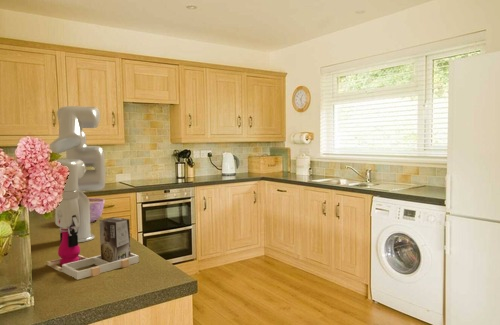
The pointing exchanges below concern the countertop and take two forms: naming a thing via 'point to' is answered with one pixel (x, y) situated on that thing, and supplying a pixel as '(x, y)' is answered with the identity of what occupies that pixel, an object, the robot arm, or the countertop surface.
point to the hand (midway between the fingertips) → (69, 244)
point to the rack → (100, 268)
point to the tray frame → (52, 263)
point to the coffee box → (115, 239)
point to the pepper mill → (67, 249)
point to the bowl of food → (96, 208)
